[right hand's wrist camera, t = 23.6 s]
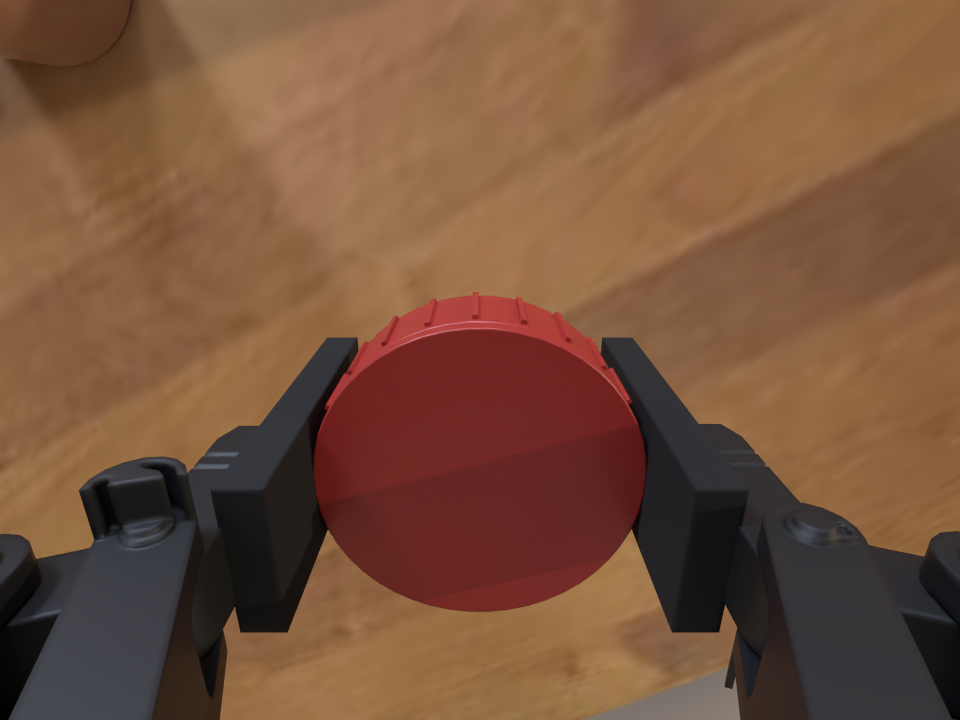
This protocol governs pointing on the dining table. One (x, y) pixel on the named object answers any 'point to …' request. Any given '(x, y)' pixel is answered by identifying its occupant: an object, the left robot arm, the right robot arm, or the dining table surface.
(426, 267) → the dining table surface
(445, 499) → the lid
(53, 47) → the jar
